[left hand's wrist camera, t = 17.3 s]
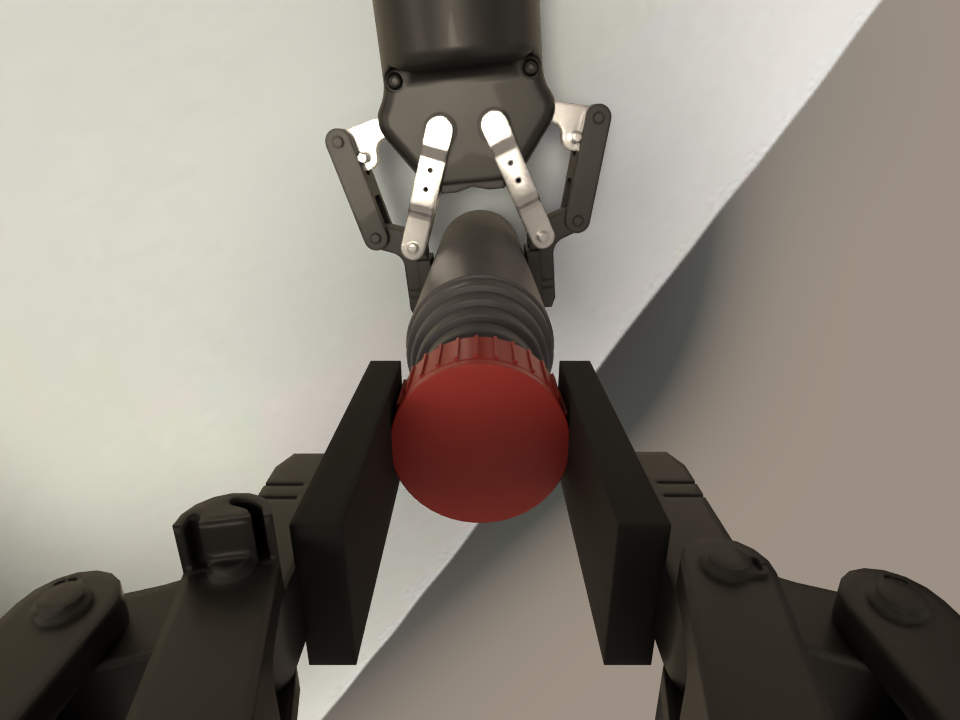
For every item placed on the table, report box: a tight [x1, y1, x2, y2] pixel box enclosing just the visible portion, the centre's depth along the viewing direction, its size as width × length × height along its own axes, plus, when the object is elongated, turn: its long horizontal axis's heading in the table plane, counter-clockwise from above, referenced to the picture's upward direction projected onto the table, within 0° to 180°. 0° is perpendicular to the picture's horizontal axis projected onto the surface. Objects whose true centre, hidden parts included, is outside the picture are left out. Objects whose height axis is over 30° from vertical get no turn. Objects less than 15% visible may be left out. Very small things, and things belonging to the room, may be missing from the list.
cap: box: [391, 335, 569, 523], centre depth 14 cm, size 4×4×2 cm
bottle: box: [406, 210, 554, 373], centre depth 25 cm, size 5×5×24 cm
